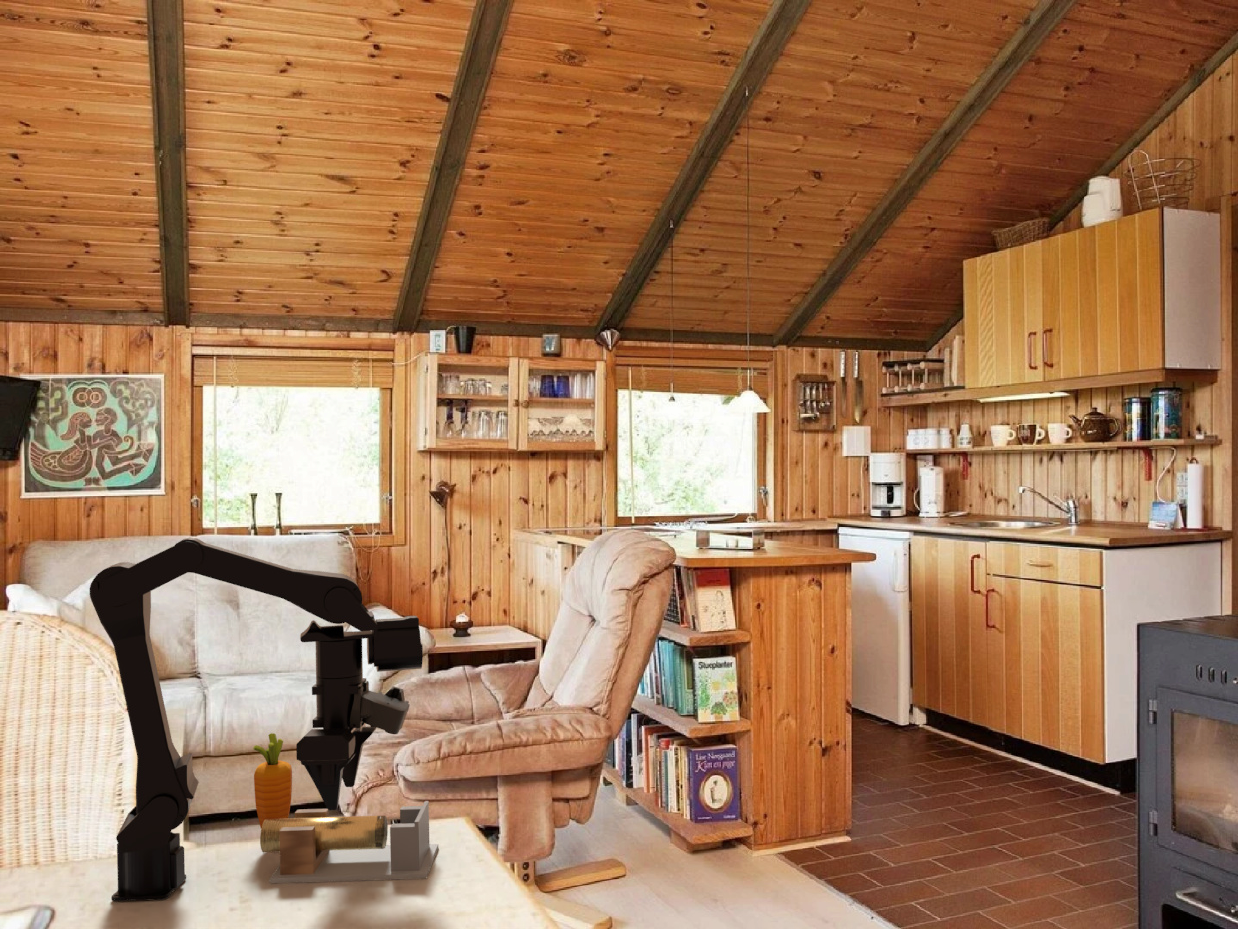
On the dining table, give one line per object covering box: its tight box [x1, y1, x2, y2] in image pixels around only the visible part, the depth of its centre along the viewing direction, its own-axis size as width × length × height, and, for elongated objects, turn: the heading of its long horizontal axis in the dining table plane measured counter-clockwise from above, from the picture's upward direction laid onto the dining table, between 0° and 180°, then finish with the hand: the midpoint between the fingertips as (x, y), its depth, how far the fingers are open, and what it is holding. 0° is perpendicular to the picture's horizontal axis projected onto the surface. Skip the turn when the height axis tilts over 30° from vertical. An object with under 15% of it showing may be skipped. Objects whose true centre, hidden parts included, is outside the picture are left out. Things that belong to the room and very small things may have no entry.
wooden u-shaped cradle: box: [279, 808, 330, 875], centre depth 132 cm, size 4×8×5 cm, turn 2°
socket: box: [389, 800, 430, 871], centre depth 132 cm, size 4×8×6 cm, turn 1°
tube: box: [259, 814, 389, 853], centre depth 132 cm, size 15×4×4 cm, turn 92°
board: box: [269, 843, 439, 884], centre depth 132 cm, size 19×10×1 cm, turn 92°
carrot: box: [253, 732, 293, 829], centre depth 139 cm, size 5×5×15 cm
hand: (341, 797), depth 132 cm, fingers open, 9 cm apart
